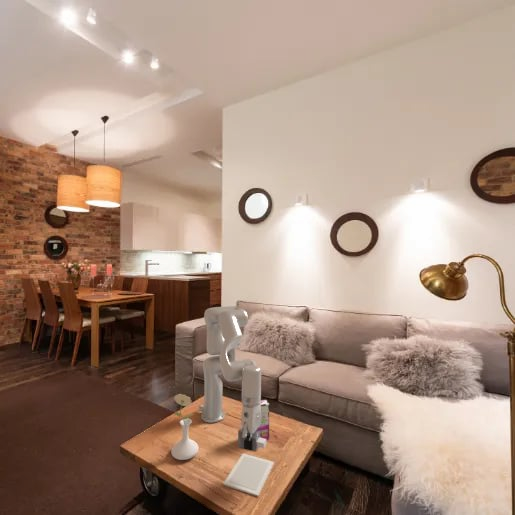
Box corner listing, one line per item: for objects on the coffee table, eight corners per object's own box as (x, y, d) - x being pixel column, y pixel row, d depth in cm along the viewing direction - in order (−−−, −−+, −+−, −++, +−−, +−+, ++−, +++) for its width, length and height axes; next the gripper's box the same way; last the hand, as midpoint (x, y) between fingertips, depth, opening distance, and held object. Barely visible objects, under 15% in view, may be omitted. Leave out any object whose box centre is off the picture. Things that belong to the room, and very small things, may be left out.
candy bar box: (266, 433, 140) (266, 399, 140) (269, 439, 135) (269, 404, 135) (243, 436, 137) (244, 401, 137) (246, 443, 132) (246, 407, 132)
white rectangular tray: (223, 484, 107) (223, 483, 107) (243, 454, 124) (243, 453, 124) (258, 496, 102) (258, 494, 102) (274, 463, 119) (274, 461, 119)
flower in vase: (204, 451, 126) (205, 394, 126) (184, 467, 116) (185, 404, 116) (183, 440, 133) (184, 386, 133) (163, 454, 123) (164, 396, 123)
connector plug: (236, 446, 113) (236, 433, 113) (240, 439, 117) (241, 427, 117) (263, 453, 109) (263, 440, 109) (267, 446, 113) (267, 433, 113)
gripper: (251, 410, 104) (251, 461, 104) (267, 391, 120) (266, 435, 119) (233, 406, 107) (232, 456, 106) (250, 388, 122) (250, 431, 122)
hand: (250, 445), depth 113 cm, fingers closed on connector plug, 4 cm apart
